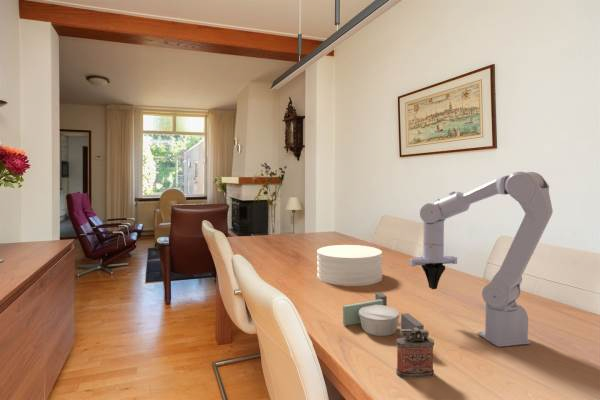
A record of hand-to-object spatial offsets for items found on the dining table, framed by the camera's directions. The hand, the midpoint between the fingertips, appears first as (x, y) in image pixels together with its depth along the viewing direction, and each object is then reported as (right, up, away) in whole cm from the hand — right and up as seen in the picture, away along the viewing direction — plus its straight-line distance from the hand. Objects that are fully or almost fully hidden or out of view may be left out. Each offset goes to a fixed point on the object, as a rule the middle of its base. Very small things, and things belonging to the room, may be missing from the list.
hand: (432, 288), depth 107 cm
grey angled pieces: (-13, -10, -7) cm, 18 cm away
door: (-21, -9, -1) cm, 23 cm away
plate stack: (-18, -7, +49) cm, 52 cm away
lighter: (-15, -12, -29) cm, 35 cm away
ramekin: (-18, -10, -6) cm, 21 cm away
